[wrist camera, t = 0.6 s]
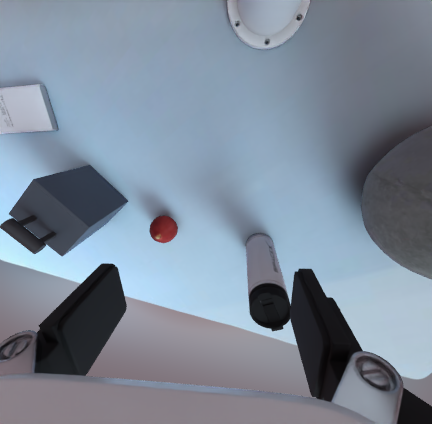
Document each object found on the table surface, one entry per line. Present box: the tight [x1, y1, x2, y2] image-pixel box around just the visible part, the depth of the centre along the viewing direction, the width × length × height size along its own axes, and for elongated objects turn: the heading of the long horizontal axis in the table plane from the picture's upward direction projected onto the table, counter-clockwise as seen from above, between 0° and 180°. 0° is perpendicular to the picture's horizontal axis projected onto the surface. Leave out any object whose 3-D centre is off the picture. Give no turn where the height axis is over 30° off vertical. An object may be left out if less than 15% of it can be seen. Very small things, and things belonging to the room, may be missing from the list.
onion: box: [150, 216, 178, 243], centre depth 46 cm, size 6×6×8 cm
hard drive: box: [0, 84, 58, 134], centre depth 43 cm, size 2×8×12 cm
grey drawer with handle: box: [0, 165, 128, 256], centre depth 41 cm, size 19×11×9 cm
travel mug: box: [246, 233, 291, 331], centre depth 41 cm, size 6×7×20 cm
